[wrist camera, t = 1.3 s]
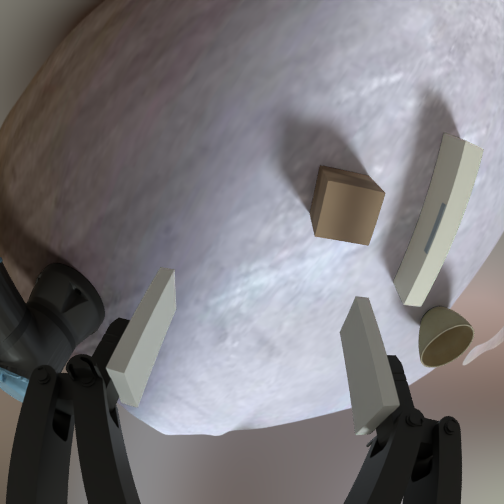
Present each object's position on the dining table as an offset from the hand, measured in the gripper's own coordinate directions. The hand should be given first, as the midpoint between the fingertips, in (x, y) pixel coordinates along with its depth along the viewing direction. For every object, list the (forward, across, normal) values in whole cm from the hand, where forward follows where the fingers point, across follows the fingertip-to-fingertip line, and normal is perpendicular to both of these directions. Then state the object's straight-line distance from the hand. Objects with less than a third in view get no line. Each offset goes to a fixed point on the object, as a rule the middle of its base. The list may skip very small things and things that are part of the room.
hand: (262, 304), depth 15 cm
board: (+21, +21, 0) cm, 29 cm away
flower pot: (+21, +31, -17) cm, 41 cm away
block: (+21, +8, 0) cm, 22 cm away
